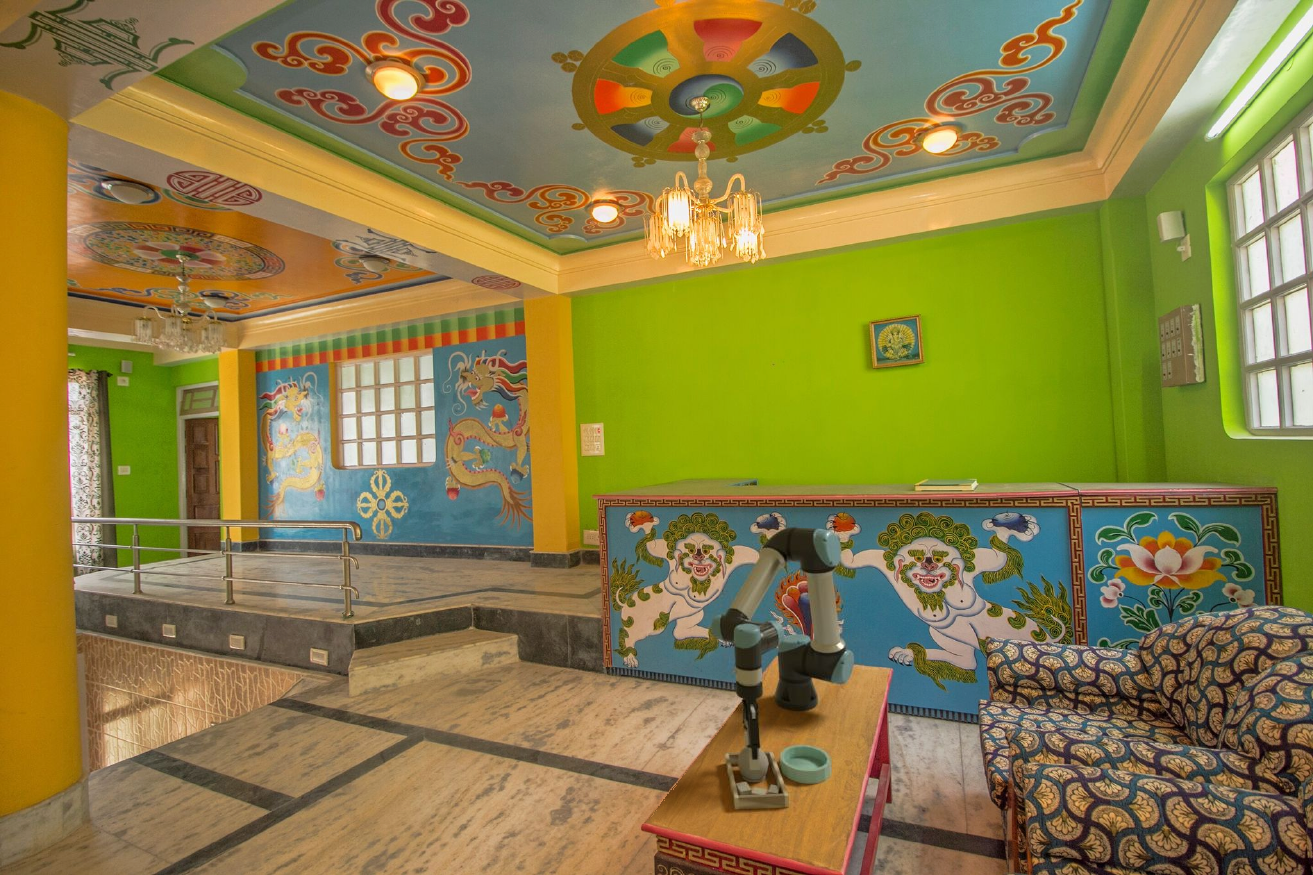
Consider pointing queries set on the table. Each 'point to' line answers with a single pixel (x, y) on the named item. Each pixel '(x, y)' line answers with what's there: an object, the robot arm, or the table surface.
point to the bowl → (805, 764)
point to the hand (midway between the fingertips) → (752, 760)
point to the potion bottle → (745, 766)
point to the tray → (762, 799)
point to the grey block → (743, 788)
